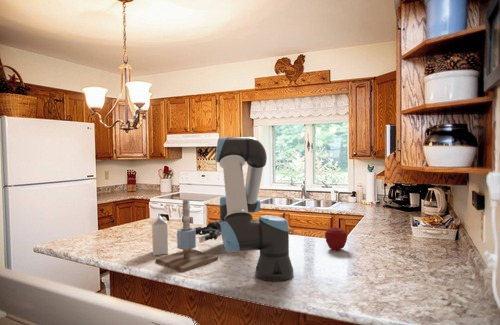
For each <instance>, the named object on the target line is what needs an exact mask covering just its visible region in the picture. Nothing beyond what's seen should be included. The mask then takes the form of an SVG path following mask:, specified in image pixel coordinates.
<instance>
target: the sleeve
mask: <svg viewBox="0 0 500 325" xmlns="http://www.w3.org/2000/svg"><path fill="white" fill-rule="evenodd" d="M196 228H197V227H190V230H189V231H183V227H181V228H177V230H176V242H177V243H176V244H177V245H176V247H177V249H178V250H180V251H183V250H186V249H195V248H196V247H197V234H196Z"/></svg>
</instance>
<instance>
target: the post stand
mask: <svg viewBox="0 0 500 325" xmlns="http://www.w3.org/2000/svg"><path fill="white" fill-rule="evenodd" d="M190 213H191V212H190V199H188V198H187V199H182V228H183V231H189V230H190V228H191V222H190V220H191V217H190V216H191V215H190ZM218 260H219V256H217V255H214V254H211V253H207V252H203V251H200V250H197V249H195V248H193V249H186V250H180V251H177V252H174V253H170V254H165V255H164V256H159V257H156V258H155V263H158V264H161V265H163V266H165V267H169V268H172V269H173V270H177V271H179V272H182V273H183V272H186V271H187V272H188V271H190V270H192V269H196V268H197V267H198V268H199V267H201V266H204V265H207V264H210V263H212V262H216V261H218Z"/></svg>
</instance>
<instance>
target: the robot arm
mask: <svg viewBox="0 0 500 325" xmlns="http://www.w3.org/2000/svg"><path fill="white" fill-rule="evenodd" d="M215 155H216V156H215V162H216V163H219V166H220V168H221V169H222V172H223V179H224V180H223V181H224V192H225V193H224V194H225V195H223V196H221V197H220V198H219V219H218V220H214V221H211V222H209V223H208V224H207V225H206V226H203V227H202V226H198V227H197V226H196V227H195V228H196V235H199V237H198V238H199V239H198V241H199V242H198V243H199V244H202V243H203V242H204V243H205V242H206V241H210V240H214V241H215V240H218V238H219V237H220V236H221V240H222V244H223V247H224V249H225V250H226V251H227V252H231V253H232V252H236V253H237V252H247V251H259V257H258V261H257V264H256V267H255V276H256V277H257V278H259V279H260V280H262V281H267V282H282V281H283V282H284V281H287V280H290V279H292V278H293V277H294V268H293V265H292V262H291V261H292V260H291V259H290V258H291V257H290V249H289V248H290V246H289V244H290V243H289V242H290V240H289V239H290V237H289V232H290V228H289V222H288V220H287V219H286V218H284V217H281V216H276V215H270V214H269V215H267V214H266V215H265V214H264V215H260V216H259V217H258V219H254V218H253V213H260V211H261V207H262V206H261V199H259V193H260V187H261V182H262V175H263V170H264V168H265V166H266V164H267V158H268V157H267V151H266V149H265V147H264V145H263V144H262V142H261V141H260V140H258V138H255V137H252V136H246V137H245V136H243V137H242V136H221V137H219V138H218V139H217V144H216V152H215ZM245 163H246V165H247V171H246V178H244V170H243V167H244V166H245ZM244 179H245V180H244ZM253 219H254V220H253Z"/></svg>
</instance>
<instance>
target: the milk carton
mask: <svg viewBox="0 0 500 325" xmlns="http://www.w3.org/2000/svg"><path fill="white" fill-rule="evenodd" d="M151 228H152V229H151V231H152V232H151V234H152V256H158V255H160V256H161V255H169V248H168V247H169V246H168V245H169V242H168V236H169V235H168V234H169V233H168V231H169V230H168V219H167V217H165V216H161V214H159V216H158V217H157V218H155V219H154V220H153V221H152V225H151Z"/></svg>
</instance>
